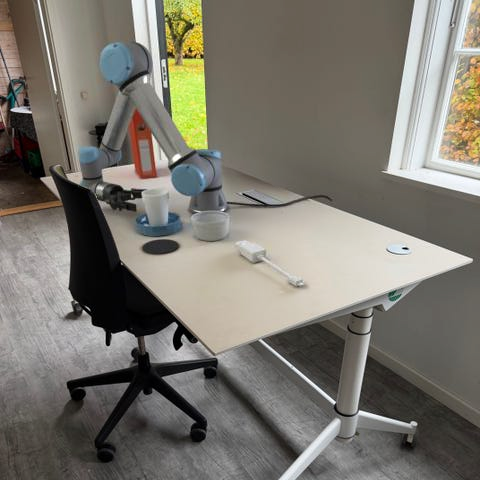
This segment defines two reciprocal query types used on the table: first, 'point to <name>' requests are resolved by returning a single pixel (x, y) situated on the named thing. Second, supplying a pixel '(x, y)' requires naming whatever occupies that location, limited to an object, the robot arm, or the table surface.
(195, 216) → the ramekin
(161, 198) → the foam cup
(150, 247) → the mat
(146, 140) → the file binder
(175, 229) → the bowl
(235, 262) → the table surface
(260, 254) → the charging cable
